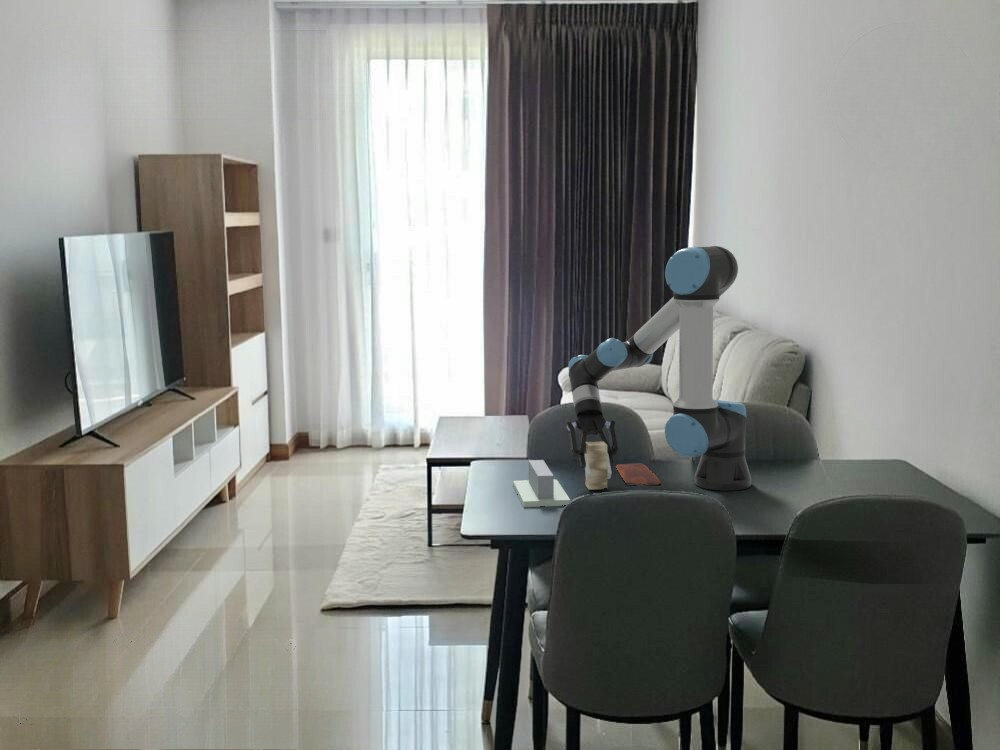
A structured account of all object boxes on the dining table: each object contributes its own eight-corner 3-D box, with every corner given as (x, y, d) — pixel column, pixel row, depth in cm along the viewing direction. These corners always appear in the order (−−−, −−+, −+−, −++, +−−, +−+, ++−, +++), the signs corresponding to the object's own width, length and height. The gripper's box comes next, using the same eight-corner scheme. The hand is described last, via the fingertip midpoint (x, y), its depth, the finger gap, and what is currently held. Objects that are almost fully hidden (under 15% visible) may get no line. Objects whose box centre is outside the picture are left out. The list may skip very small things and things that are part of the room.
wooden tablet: (662, 487, 299) (662, 481, 299) (625, 488, 299) (626, 482, 299) (646, 465, 325) (646, 459, 325) (612, 465, 325) (613, 460, 325)
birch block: (603, 484, 299) (603, 441, 298) (607, 488, 294) (607, 445, 293) (585, 485, 299) (585, 441, 297) (588, 489, 294) (588, 445, 292)
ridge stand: (513, 486, 299) (512, 459, 298) (556, 484, 301) (556, 457, 300) (523, 507, 278) (523, 478, 277) (570, 505, 279) (570, 476, 278)
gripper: (617, 412, 310) (629, 482, 296) (554, 413, 308) (563, 485, 294) (621, 396, 304) (634, 467, 290) (557, 398, 302) (567, 470, 288)
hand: (599, 476), depth 292 cm, fingers closed on birch block, 5 cm apart
